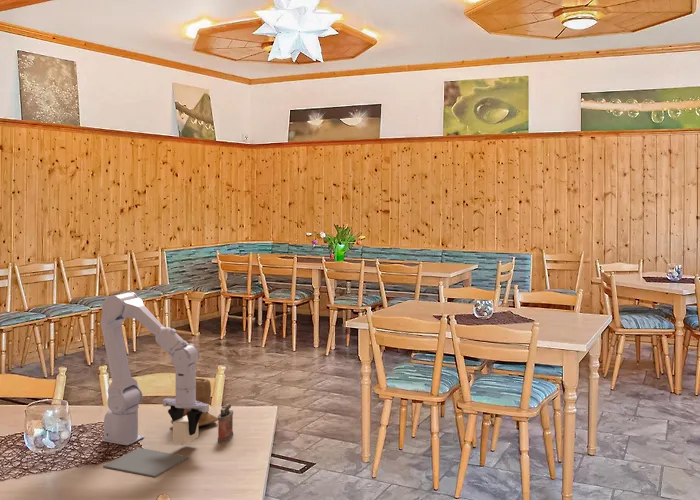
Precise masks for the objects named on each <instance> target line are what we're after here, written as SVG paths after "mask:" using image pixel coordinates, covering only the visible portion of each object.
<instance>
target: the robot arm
mask: <svg viewBox="0 0 700 500" xmlns="http://www.w3.org/2000/svg"><path fill="white" fill-rule="evenodd" d="M100 305H101V310H102V313H101V318H100V327H101V332H102V337H103V342H104V348H105V351H106V353H105V354H106V358H107V361H108V362H107V363H108V368H109V372H110V377H111V383H110V385H109V387H108V388H107V403H106V404H107V408H108V411H106V413H105V415H104V417H103V418H104V419H103V438H102V440H101V441H102V442H106V443H112V444H117V445H123V446H131V445H132V444H134V443H136V442H138V441H140V440H143V439H144V438H145V435H140V434H139V426H138V425H139V412H138V411H139V406H140V404H141V403H142V401H143V392H142V390H141V388H140V387H139V385H138V380H136V379H135V377H134V378H133V376H132V375H131V370H130V364H129V360H128V355H127V351H126V345H125V341H124V335H123V331H122V324H124V322H125V321H126V319H135V320H137V321H138V322H139V323H140V324H141V325H143V327H145V328H146V329H147V330H148V331H149V332H151V333H152V334H153V335H154V336H155V342H156V343H157V344H158V345H159V346H160V347H161V348H162V349H163V350H164V351H165V352H166V353H167V354H168V355H169V356H170V358H171V359H170V360H171V362H172V364H173V366H174V371H175V398H170V397H168V398H167V397H166V398H164V399H163V400H162V406H163V407H164V408H165V407H170V408H169V409H167V413H168V415H169V416H170V418H171V420H173V422H174V421H176V420H178V419H180V418H182V417H183V414H184V409H191V411H189V412H187V413H186V414H187V417H188V422H189V435H193V434H195V432H196V428H197V424H198V421H199V419H200V417H201V415H202V413H203V412H207V411H208V412H209V411H210V410H209V409H210V407H209V406H210V404H205V403H202V402H199V401H196V378H197V375H196V374H197V372H196V371H197V368H196V367H197V365H196V364H197V362H198V360H199V359H200V351H199V349H198V348H197V346H196V345H195V344H194V343H188V341H186V340H184V339H183V337H181V335H179V334H178V333H176V332H177V330H176V329H175V328H172V327H170V326H167V327H166V326H164V325H163V324H162V323H161V322H160V321H159V320H158V319H157V318H156V317H155V315H154V314H153V313H152V312H151V311H150V310H149V309H148V308H147V307H146V306H145V303H144V301H143V300H142V298H140V297H138V295H137V293H135V292H133V291H126V292H124V293H119V294H116V295H108V297H105V299H104V301H103V302H102V303H101V304H100Z"/></svg>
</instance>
